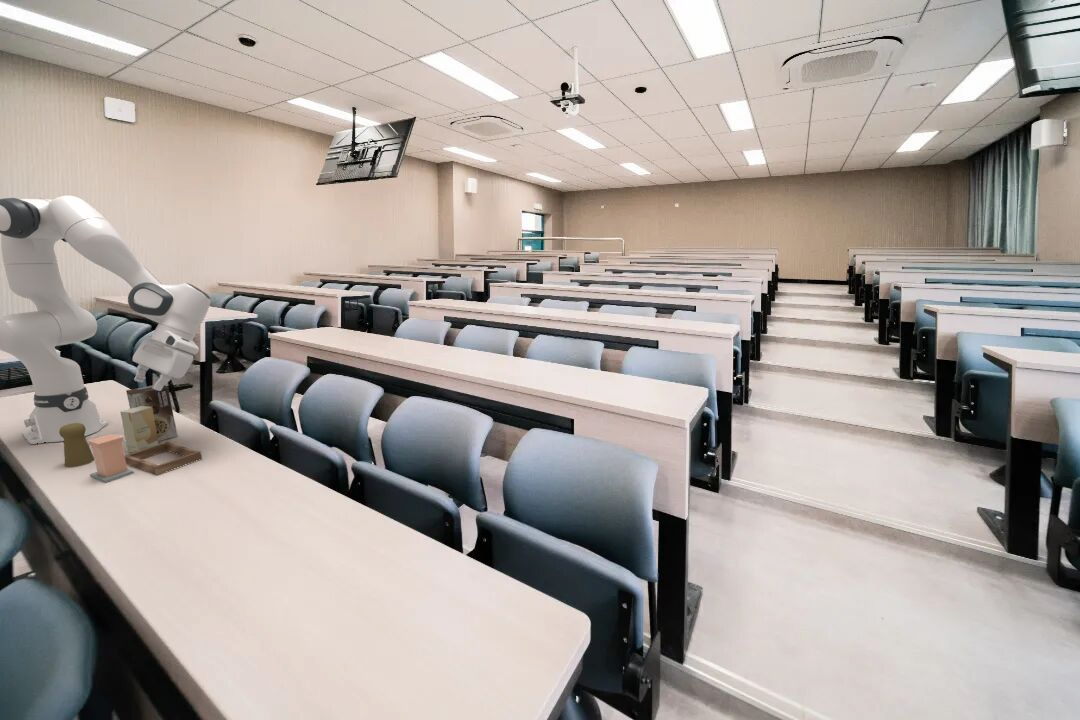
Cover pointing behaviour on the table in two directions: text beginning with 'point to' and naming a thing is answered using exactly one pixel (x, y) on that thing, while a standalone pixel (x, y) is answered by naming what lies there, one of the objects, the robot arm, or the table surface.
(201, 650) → the table surface
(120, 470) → the peach upright block
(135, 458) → the walnut frame
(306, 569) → the table surface
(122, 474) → the slate mat
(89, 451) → the cork
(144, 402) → the coffee box
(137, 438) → the skincare box
